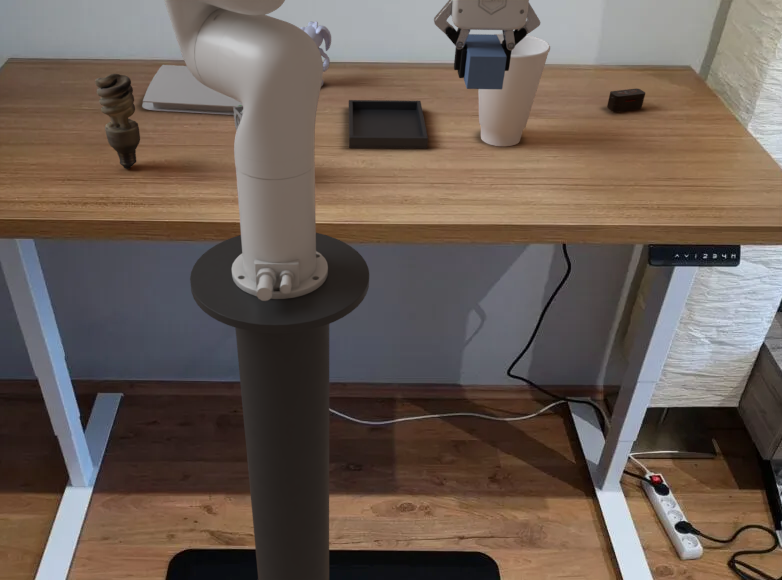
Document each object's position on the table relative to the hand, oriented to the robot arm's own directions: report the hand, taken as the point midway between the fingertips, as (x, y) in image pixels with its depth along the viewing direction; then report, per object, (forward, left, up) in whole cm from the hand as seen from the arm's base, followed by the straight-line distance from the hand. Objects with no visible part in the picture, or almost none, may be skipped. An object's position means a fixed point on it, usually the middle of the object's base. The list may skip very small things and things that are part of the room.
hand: (480, 74), depth 116 cm
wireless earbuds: (+33, -34, -18) cm, 51 cm away
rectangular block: (0, 0, 0) cm, 0 cm away
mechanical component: (+2, +34, -18) cm, 38 cm away
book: (+36, +46, -18) cm, 61 cm away
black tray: (+22, +12, -17) cm, 31 cm away
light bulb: (+5, +55, -18) cm, 58 cm away
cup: (+18, -8, -18) cm, 27 cm away
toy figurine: (+44, +26, -18) cm, 54 cm away
